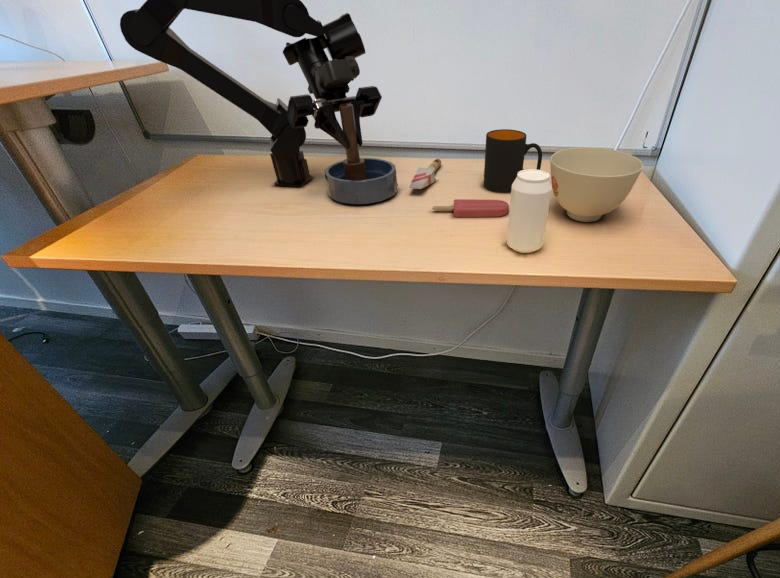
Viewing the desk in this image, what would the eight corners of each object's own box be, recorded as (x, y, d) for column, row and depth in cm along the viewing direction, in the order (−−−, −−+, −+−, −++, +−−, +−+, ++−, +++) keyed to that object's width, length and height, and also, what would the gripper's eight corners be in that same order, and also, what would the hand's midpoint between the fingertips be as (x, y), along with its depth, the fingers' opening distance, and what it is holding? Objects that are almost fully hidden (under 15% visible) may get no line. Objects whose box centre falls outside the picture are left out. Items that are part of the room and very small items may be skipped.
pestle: (342, 183, 87) (330, 107, 77) (350, 176, 90) (339, 102, 81) (363, 185, 86) (353, 108, 77) (369, 177, 90) (360, 103, 80)
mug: (537, 195, 88) (544, 142, 81) (481, 191, 90) (483, 139, 83) (538, 181, 94) (545, 131, 87) (485, 178, 96) (488, 128, 89)
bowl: (632, 236, 74) (650, 178, 67) (541, 230, 76) (550, 173, 69) (621, 201, 85) (636, 149, 78) (542, 196, 87) (550, 145, 81)
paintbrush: (405, 180, 86) (430, 155, 101) (406, 193, 88) (430, 167, 103) (423, 181, 85) (445, 156, 100) (423, 195, 87) (445, 168, 102)
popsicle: (432, 198, 83) (507, 198, 83) (433, 206, 84) (507, 206, 84) (431, 209, 79) (510, 209, 79) (432, 217, 80) (509, 217, 80)
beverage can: (501, 252, 70) (508, 178, 62) (510, 236, 74) (518, 165, 66) (538, 258, 68) (550, 183, 60) (545, 241, 72) (557, 170, 64)
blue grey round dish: (318, 204, 85) (313, 179, 81) (343, 179, 95) (339, 156, 92) (387, 209, 83) (384, 183, 80) (404, 183, 94) (403, 159, 90)
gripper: (275, 41, 70) (318, 127, 71) (371, 35, 79) (407, 112, 80) (271, 89, 80) (308, 164, 81) (356, 79, 89) (389, 147, 90)
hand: (354, 146), depth 83 cm, fingers closed on pestle, 2 cm apart
